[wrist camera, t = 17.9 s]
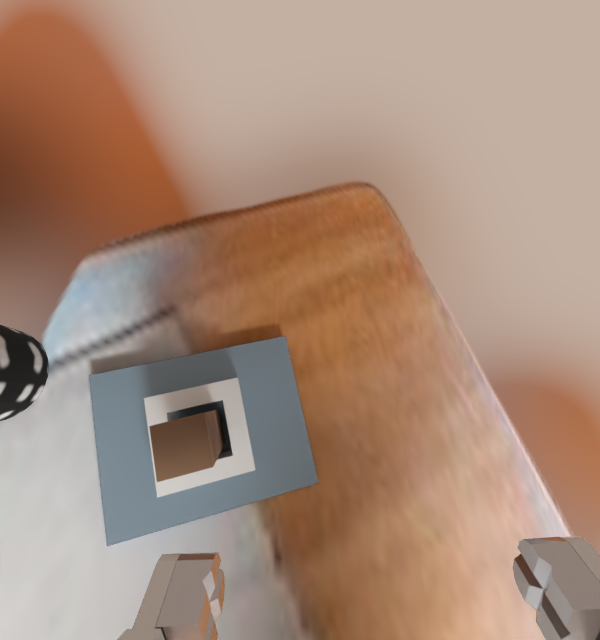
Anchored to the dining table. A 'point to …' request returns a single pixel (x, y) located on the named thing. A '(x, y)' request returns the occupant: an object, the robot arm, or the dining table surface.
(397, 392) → the dining table surface
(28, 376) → the white-spotted black cylinder
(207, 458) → the brown wooden peg
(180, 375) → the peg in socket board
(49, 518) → the dining table surface
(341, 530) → the dining table surface
